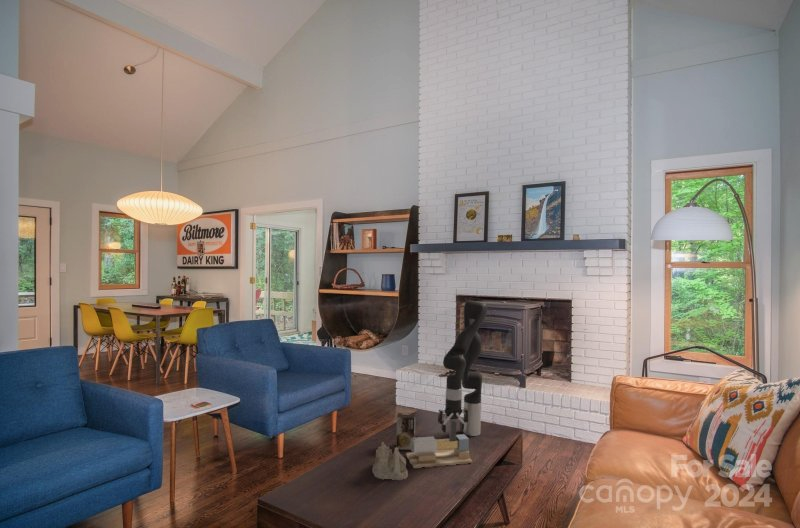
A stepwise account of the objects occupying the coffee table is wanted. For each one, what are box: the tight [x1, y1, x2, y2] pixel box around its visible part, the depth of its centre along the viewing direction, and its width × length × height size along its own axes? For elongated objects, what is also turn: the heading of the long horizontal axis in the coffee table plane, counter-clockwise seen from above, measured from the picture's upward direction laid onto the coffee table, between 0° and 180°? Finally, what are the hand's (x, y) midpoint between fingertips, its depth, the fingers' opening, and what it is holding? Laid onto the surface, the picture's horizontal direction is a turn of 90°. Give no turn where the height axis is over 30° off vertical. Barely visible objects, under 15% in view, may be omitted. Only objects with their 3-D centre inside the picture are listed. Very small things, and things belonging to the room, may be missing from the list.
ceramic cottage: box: [371, 441, 409, 481], centre depth 199 cm, size 16×16×15 cm
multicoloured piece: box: [435, 419, 459, 450], centre depth 213 cm, size 3×16×12 cm, turn 103°
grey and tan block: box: [410, 436, 437, 463], centre depth 210 cm, size 10×11×9 cm
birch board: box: [405, 448, 473, 469], centre depth 212 cm, size 14×28×1 cm, turn 103°
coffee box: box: [395, 412, 416, 451], centre depth 225 cm, size 9×6×16 cm
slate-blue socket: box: [453, 433, 471, 459], centre depth 214 cm, size 8×5×9 cm, turn 13°
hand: (452, 431), depth 213 cm, fingers open, 8 cm apart
